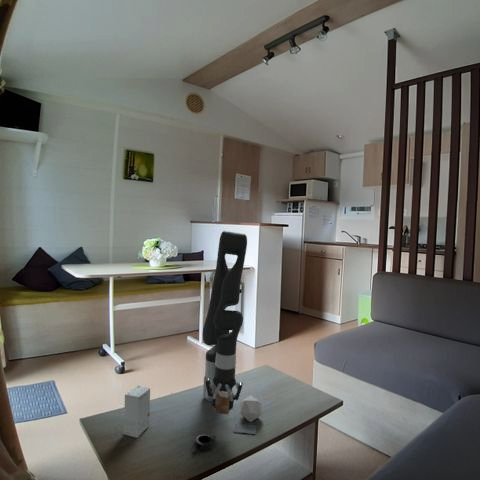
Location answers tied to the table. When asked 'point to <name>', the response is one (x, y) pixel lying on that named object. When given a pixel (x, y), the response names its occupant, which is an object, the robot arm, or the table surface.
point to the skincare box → (137, 411)
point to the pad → (245, 429)
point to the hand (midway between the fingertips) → (222, 407)
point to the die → (250, 408)
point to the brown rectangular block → (222, 403)
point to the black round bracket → (203, 443)
